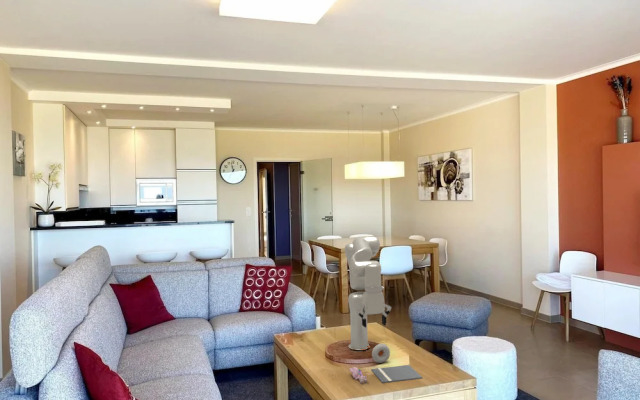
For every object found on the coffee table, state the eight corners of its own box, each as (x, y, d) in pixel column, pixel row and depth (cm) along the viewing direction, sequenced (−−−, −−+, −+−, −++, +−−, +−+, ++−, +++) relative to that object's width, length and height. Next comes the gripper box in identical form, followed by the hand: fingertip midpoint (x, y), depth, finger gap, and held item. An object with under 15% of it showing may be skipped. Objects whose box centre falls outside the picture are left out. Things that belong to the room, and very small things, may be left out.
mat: (371, 370, 239) (371, 368, 239) (408, 365, 243) (408, 364, 243) (382, 383, 223) (382, 381, 223) (422, 378, 227) (422, 376, 227)
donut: (373, 365, 245) (373, 346, 245) (370, 363, 248) (370, 344, 248) (391, 362, 248) (390, 343, 248) (388, 360, 251) (387, 341, 251)
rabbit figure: (371, 386, 224) (356, 370, 237) (372, 374, 222) (357, 358, 236) (359, 388, 221) (345, 372, 235) (360, 377, 220) (345, 361, 233)
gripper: (387, 286, 232) (388, 322, 232) (353, 289, 228) (354, 325, 228) (393, 289, 225) (394, 326, 225) (358, 292, 221) (359, 329, 221)
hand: (374, 325), depth 227 cm, fingers open, 9 cm apart
